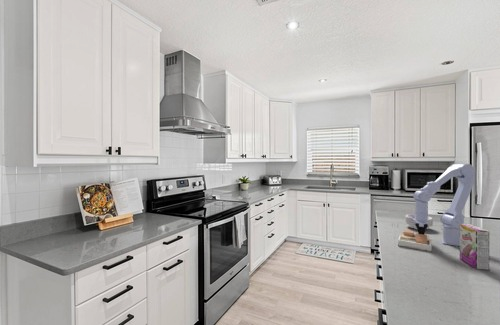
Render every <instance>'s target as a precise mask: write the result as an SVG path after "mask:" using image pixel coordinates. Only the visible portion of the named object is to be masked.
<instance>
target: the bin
mask: <svg viewBox="0 0 500 325" xmlns="http://www.w3.org/2000/svg"><path fill="white" fill-rule="evenodd" d="M401 235H402V234H399V236H398V239H397V246H398V247H404V248H409V249H414V250H421V251H425V250H427V252H432V247H433V246H432V239H430V238H429V243H427V244H421V243H416V241H414V240H408V239H402V238H401Z"/></svg>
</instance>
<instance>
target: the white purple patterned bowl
mask: <svg viewBox="0 0 500 325" xmlns="http://www.w3.org/2000/svg"><path fill="white" fill-rule="evenodd" d="M413 219H415V214H412V213H411V214H410V213H409V214H406V215H405V219H404V220H405V224H407V225H408V226H409V227H410V228H411V229H413V228H414V229H413V230H417V227H416V225H415V223H417V222H415V221H413ZM426 224H428V227H427V228H426V229H427V230H429V228H430V227H433V226H434V225H433V224H434V222H433V217H431V216H429V215H428V223H426Z"/></svg>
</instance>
